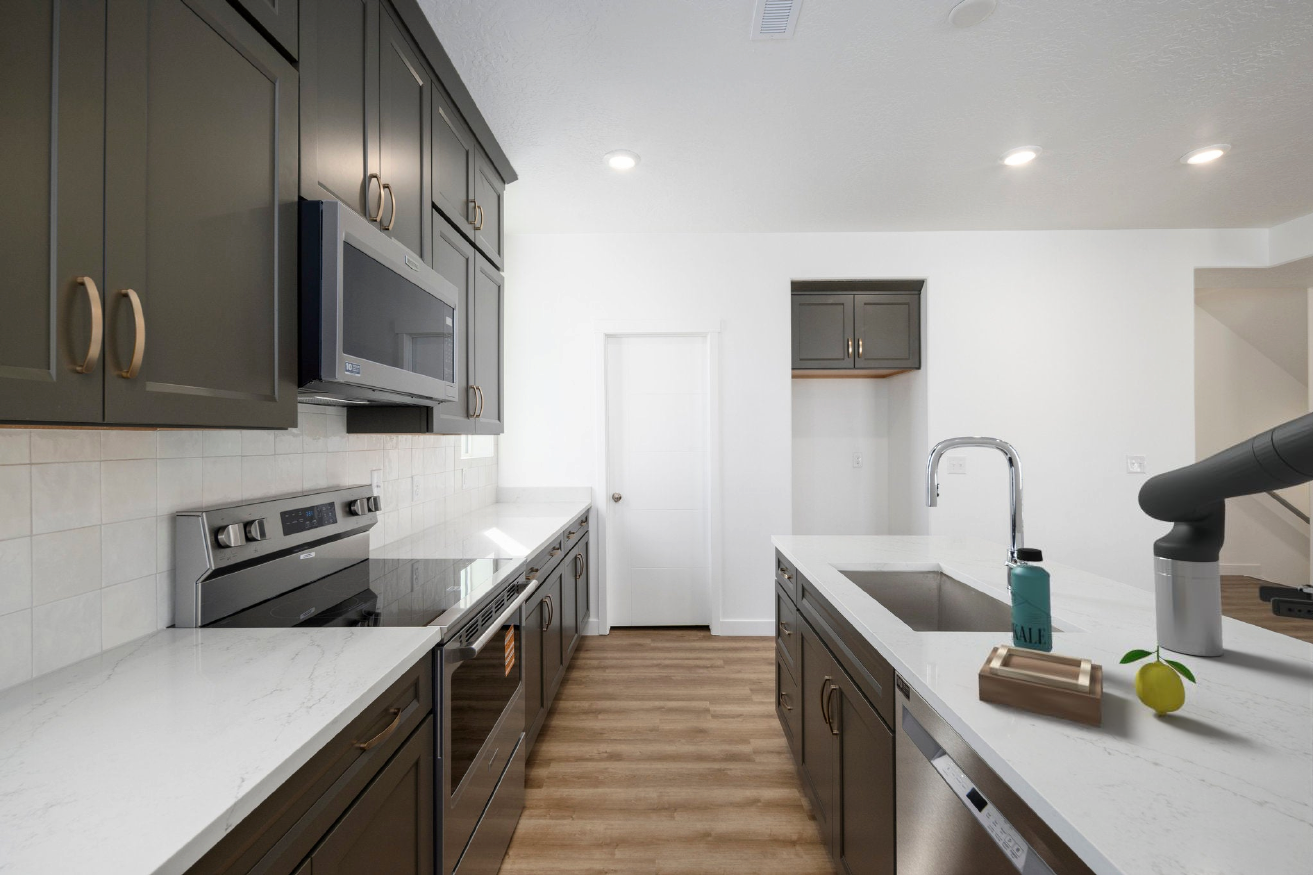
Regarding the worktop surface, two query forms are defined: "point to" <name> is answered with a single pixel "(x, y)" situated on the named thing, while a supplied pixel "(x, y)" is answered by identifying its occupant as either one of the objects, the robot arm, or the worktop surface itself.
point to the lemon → (1159, 682)
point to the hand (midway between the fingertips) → (1265, 599)
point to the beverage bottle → (1031, 603)
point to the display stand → (1043, 683)
